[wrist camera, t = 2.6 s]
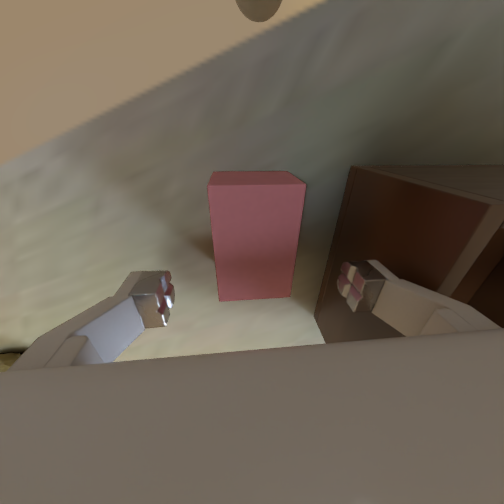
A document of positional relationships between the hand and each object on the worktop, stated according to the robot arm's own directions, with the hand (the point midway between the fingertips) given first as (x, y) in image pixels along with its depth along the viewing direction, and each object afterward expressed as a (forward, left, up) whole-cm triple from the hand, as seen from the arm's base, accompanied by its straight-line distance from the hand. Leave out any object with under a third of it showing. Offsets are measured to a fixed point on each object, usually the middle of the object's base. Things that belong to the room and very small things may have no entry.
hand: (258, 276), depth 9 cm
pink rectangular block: (0, 0, -5) cm, 5 cm away
